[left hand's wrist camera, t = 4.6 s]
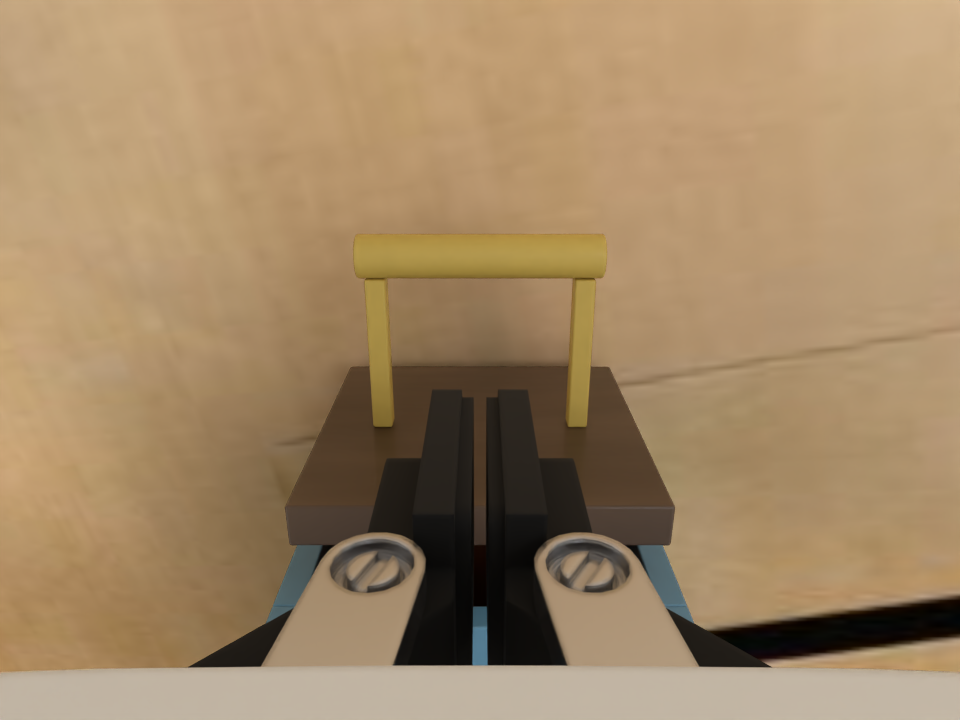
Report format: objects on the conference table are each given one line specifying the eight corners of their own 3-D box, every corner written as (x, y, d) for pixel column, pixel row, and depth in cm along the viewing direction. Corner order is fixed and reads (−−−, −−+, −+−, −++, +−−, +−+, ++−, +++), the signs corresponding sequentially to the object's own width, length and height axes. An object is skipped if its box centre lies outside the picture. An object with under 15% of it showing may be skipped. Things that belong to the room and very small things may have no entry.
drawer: (338, 207, 24) (255, 275, 15) (621, 207, 24) (704, 275, 15) (375, 698, 32) (335, 927, 23) (584, 698, 32) (624, 927, 23)
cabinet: (344, 425, 28) (262, 627, 17) (615, 425, 28) (697, 627, 17) (370, 744, 34) (322, 1030, 24) (589, 744, 34) (637, 1030, 24)
